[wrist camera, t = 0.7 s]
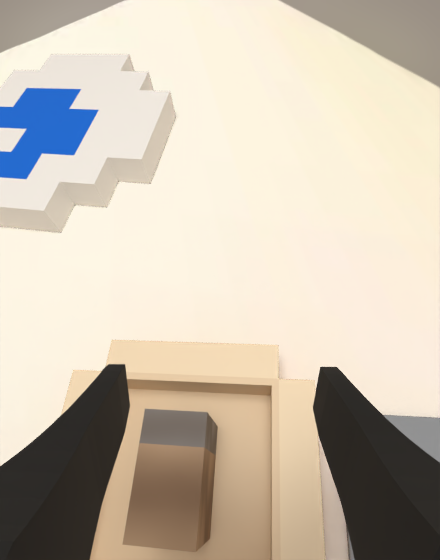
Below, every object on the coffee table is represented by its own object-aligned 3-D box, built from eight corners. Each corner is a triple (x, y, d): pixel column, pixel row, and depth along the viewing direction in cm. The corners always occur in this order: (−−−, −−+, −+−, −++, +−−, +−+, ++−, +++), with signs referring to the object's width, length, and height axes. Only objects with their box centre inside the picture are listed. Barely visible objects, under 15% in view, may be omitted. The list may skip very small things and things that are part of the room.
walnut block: (210, 538, 24) (195, 552, 19) (151, 533, 25) (122, 544, 19) (217, 426, 28) (207, 412, 22) (166, 423, 28) (145, 408, 23)
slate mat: (526, 600, 21) (531, 602, 21) (351, 581, 23) (352, 582, 22) (479, 421, 26) (481, 420, 26) (336, 413, 28) (337, 412, 27)
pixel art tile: (117, 217, 35) (-117, 196, 40) (130, 241, 38) (-87, 219, 43) (185, 54, 48) (2, 53, 53) (190, 83, 52) (18, 80, 57)
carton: (322, 666, 21) (333, 697, 18) (33, 626, 23) (-3, 647, 20) (307, 361, 30) (312, 346, 27) (99, 353, 32) (81, 338, 29)
